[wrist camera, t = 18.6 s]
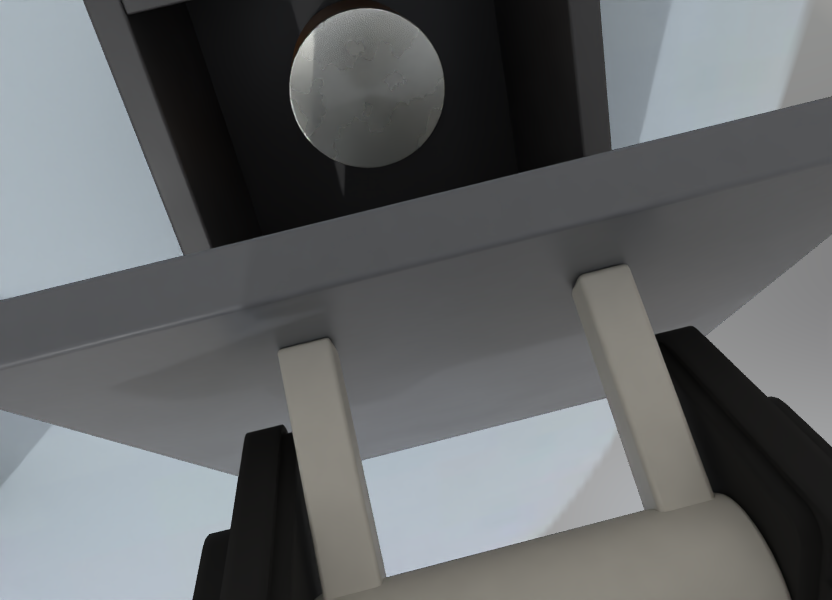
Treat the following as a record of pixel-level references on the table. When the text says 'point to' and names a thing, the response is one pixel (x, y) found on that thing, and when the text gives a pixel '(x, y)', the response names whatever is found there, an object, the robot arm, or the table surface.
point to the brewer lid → (458, 349)
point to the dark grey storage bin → (285, 142)
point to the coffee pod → (365, 84)
